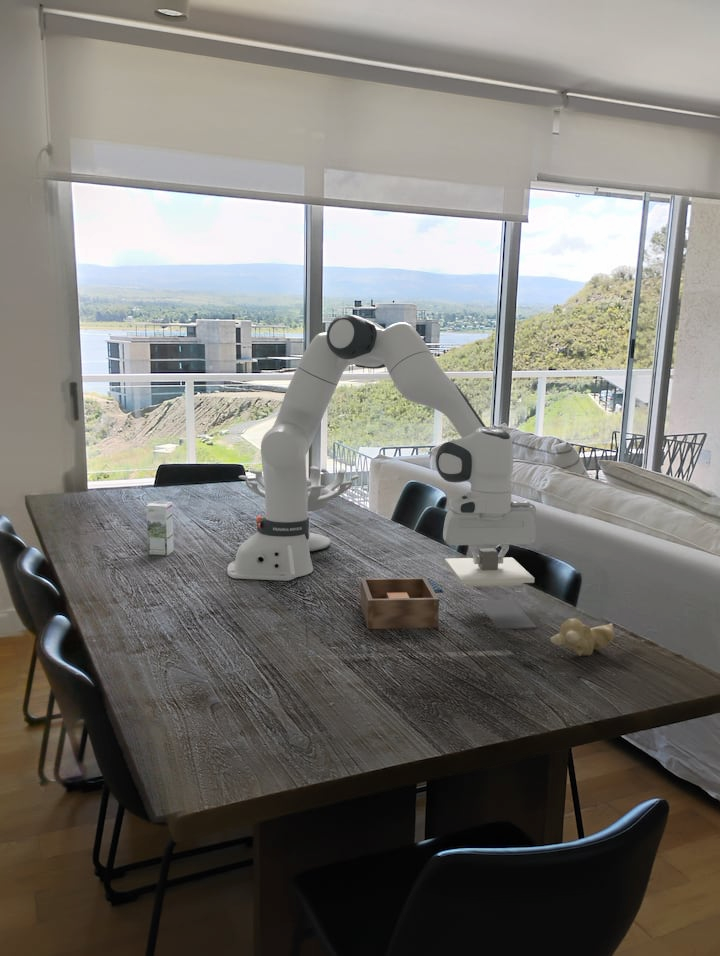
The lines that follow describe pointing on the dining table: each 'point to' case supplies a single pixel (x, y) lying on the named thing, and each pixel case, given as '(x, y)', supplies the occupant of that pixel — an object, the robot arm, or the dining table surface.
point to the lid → (489, 570)
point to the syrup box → (160, 528)
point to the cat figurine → (583, 636)
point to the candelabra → (311, 497)
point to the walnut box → (399, 603)
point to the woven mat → (434, 586)
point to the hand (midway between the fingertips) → (487, 563)
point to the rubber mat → (506, 614)
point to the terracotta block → (397, 595)
